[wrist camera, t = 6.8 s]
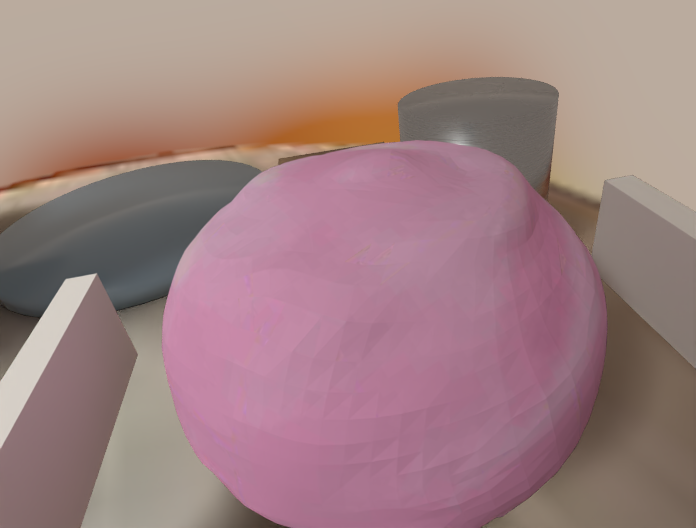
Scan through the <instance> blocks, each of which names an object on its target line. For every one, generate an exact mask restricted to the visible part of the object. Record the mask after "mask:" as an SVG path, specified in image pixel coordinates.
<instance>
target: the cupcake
mask: <svg viewBox="0 0 696 528" xmlns="http://www.w3.org/2000/svg"><path fill="white" fill-rule="evenodd" d="M606 343H607V308H606V300H605V294H604V290H603V286H602V282H601V277H600V274H599V272H598V269H597V266H596V264H595V262H594V260H593V258H592V256H591V255H590V253H589V251H588V249H587V248H586V246H585V245H584V244H583V243H582V241H581V240H580V239H579V237H578V236H577V235H576V234H575V232H574V230H573V229H572V228H571V226H570V225H569V224H568V223H567V222H566V220H565V219H564V218H563V217H562V215H561V214H560V213H559V212H558V211H557V210H556V209H555V208H553V207H552V206H551V205H550V204H549V203H548V202H547V201H546V200H545V199H544V198H543V197H541V196H540V195H539V194H538V193H537V192H536V191H535V190H534V189H533V188H532V186H531V185H530V184H529V182H528V181H527V180H526V179H525V177H524V176H523V175H522V173H521V172H520V171H519V170H518V169H517V168H516V167H515V166H514V165H513V164H512V163H510V162H509V161H507V160H506V159H504V158H503V157H501V156H499V155H497V154H494V153H492V152H490V151H488V150H485V149H481V148H478V147H471V146H464V145H459V144H454V143H447V142H438V141H423V140H414V141H403V142H393V143H382V144H374V145H367V146H359V147H354V148H349V149H344V150H339V151H335V152H330V153H326V154H323V155H316V156H309V157H305V158H301V159H297V160H293V161H290V162H286V163H283V164H281V165H278V166H275V167H272V168H270V169H268V170H266V171H264V172H262V173H260V174H258V175H257V176H256V177H255V178H253V179H252V180H251V181H250V182H249V183H248V184H247V185H246V186H245V187H244V188H243V189H242V190H241V191H240V192H239V193H238V194H237V196H236V197H235V198H234V199H233V200H232V202H230V203H229V204H227V205H226V206H225V207H223V208H222V209H220V210H219V211H218V212H217V213H216V214H215V215H214V216H213V217H212V219H211V220H210V221H209V222H208V223H207V224H206V225H205V226H204V227H203V228H202V229H201V231H200V232H199V233H198V235H197V236H196V237H195V239H194V240H193V241H192V242H191V243H190V245H189V246H188V247H187V248H186V250H185V251H184V253H183V255H182V257H181V259H180V262H179V264H178V266H177V269H176V272H175V275H174V278H173V280H172V284H171V287H170V290H169V294H168V298H167V302H166V306H165V310H164V316H163V327H162V351H163V358H164V364H165V369H166V374H167V379H168V383H169V387H170V390H171V393H172V397H173V401H174V404H175V408H176V412H177V415H178V417H179V420H180V423H181V425H182V428H183V430H184V433H185V435H186V437H187V439H188V441H189V443H190V445H191V446H192V448H193V450H194V452H195V454H196V455H197V456H198V458H199V459H200V461H201V462H202V463H203V464H204V465H205V466H206V467H207V468H209V469H210V470H211V471H212V472H213V473H214V474H215V475H216V476H217V477H218V478H219V480H220V481H221V482H222V483H223V484H224V485H225V486H226V487H227V488H228V489H229V490H230V492H231V493H232V494H233V495H234V496H235V497H236V498H237V499H238V500H239V501H240V502H241V503H242V504H243V505H244V506H246V507H248V508H249V509H251V510H253V511H254V512H256V513H258V514H260V515H261V516H263V517H265V518H267V519H269V520H271V521H272V522H274V523H276V524H280V525H283V526H287V527H291V528H480V527H482V526H484V525H485V524H487V523H488V522H490V521H491V520H493V519H495V518H497V517H502V516H504V515H505V514H507V513H508V512H510V511H511V510H512V509H514V508H515V507H517V506H518V505H519V504H521V503H522V502H524V501H525V500H527V499H528V498H529V497H531V496H532V495H533V494H534V493H535V492H536V491H537V490H538V489H539V488H541V487H542V486H543V485H544V484H545V483H546V482H547V481H548V480H549V479H550V478H552V477H553V476H554V475H555V474H556V473H557V472H558V471H559V469H560V468H561V466H562V465H563V464H564V462H565V461H566V460H567V458H568V457H569V456H570V454H571V453H572V451H573V450H574V449H575V447H576V445H577V444H578V442H579V440H580V437H581V435H582V433H583V431H584V429H585V427H586V425H587V423H588V420H589V418H590V416H591V412H592V409H593V406H594V403H595V400H596V396H597V393H598V390H599V385H600V381H601V377H602V372H603V366H604V360H605V354H606Z"/></svg>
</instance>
